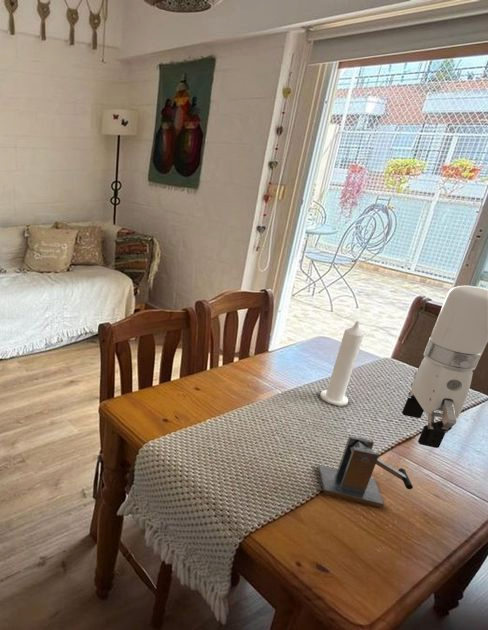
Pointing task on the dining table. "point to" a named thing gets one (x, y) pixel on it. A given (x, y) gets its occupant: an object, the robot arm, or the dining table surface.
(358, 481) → the press bracket
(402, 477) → the press lever
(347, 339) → the candle
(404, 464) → the dining table surface
